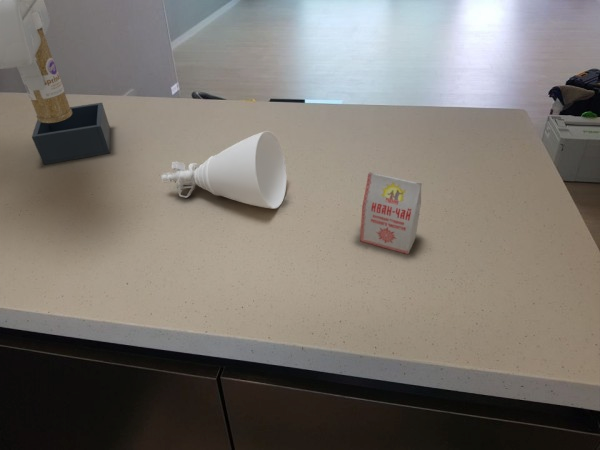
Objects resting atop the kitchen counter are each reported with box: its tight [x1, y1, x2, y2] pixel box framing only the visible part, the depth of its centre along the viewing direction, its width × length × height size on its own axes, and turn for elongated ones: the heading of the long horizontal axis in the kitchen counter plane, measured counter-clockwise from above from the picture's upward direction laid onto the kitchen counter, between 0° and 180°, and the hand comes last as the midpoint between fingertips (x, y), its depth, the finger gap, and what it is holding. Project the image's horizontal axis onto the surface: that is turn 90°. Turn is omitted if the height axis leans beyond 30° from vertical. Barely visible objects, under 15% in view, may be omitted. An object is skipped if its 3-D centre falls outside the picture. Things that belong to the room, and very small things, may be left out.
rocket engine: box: [160, 130, 288, 210], centre depth 71 cm, size 12×12×18 cm
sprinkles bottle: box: [17, 10, 72, 123], centre depth 59 cm, size 5×5×13 cm
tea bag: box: [359, 171, 423, 255], centre depth 60 cm, size 4×7×10 cm, turn 64°
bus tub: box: [31, 102, 111, 165], centre depth 87 cm, size 12×12×6 cm
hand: (41, 80), depth 59 cm, fingers closed on sprinkles bottle, 4 cm apart
